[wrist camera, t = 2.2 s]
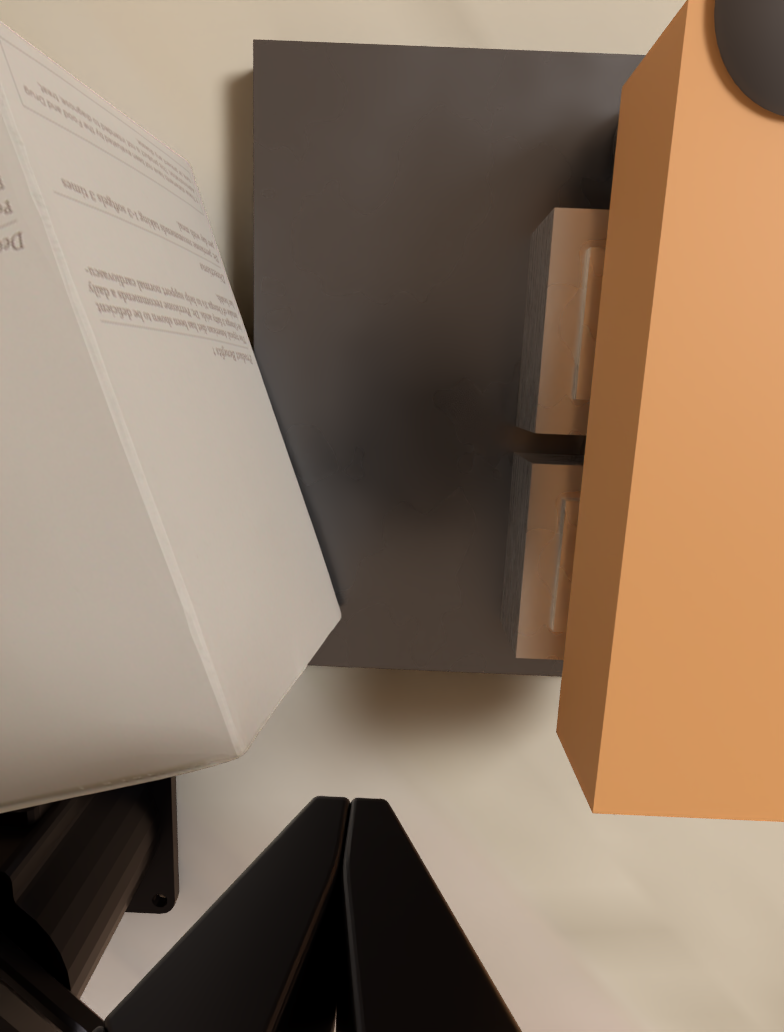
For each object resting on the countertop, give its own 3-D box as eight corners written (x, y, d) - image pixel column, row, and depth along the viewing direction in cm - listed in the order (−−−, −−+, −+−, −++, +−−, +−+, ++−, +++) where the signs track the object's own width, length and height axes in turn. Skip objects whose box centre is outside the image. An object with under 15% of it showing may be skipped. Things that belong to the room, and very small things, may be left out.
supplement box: (-399, 170, 11) (-97, 846, 12) (-34, -29, 9) (257, 767, 11) (-38, 264, 18) (123, 680, 19) (197, 161, 16) (352, 620, 18)
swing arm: (631, -6, 12) (709, -138, 9) (839, 3, 12) (988, -128, 9) (556, 731, 16) (595, 820, 12) (722, 739, 15) (803, 829, 12)
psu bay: (914, 674, 20) (1041, 747, 16) (263, 646, 20) (229, 710, 16) (1042, 95, 16) (1242, 5, 13) (263, 64, 17) (221, -36, 13)
